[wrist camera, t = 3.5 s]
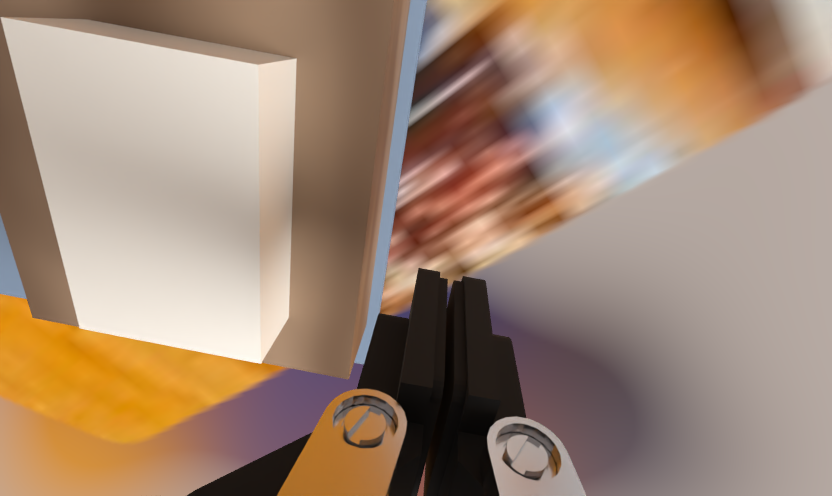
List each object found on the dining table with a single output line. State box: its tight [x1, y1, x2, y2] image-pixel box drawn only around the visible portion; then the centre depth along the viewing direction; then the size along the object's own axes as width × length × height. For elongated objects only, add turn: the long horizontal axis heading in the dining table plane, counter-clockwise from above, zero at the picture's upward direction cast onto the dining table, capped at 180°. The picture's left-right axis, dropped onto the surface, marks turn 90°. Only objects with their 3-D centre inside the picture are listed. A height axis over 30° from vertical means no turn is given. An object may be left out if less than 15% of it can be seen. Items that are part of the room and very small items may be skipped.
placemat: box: [0, 0, 427, 364], centre depth 17 cm, size 24×19×1 cm
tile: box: [1, 17, 297, 364], centre depth 13 cm, size 6×9×2 cm, turn 171°
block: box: [0, 0, 411, 379], centre depth 16 cm, size 13×14×4 cm
